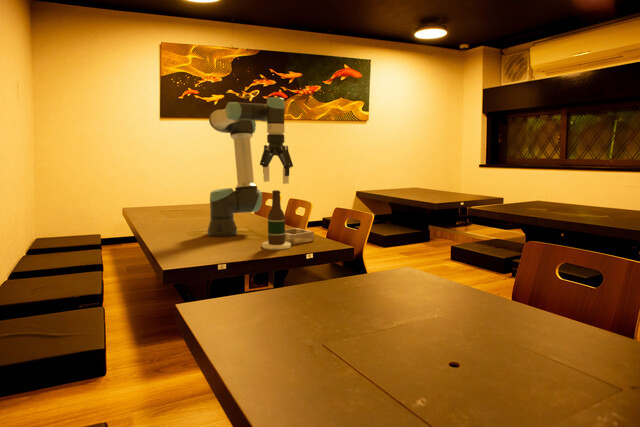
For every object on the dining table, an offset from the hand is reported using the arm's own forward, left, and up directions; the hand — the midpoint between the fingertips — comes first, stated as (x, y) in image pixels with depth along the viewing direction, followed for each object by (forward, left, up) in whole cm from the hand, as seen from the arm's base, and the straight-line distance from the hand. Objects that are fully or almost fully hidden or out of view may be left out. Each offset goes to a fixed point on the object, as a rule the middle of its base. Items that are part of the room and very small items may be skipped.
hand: (275, 182), depth 195 cm
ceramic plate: (0, 0, -29) cm, 29 cm away
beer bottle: (0, 0, -28) cm, 28 cm away
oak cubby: (-5, +15, -29) cm, 33 cm away
